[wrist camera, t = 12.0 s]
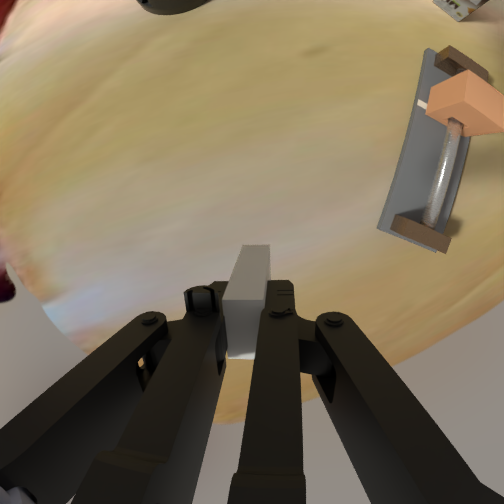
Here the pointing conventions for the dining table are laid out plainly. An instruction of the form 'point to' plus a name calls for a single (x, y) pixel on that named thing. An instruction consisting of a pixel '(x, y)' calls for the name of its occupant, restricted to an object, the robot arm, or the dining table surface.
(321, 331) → the robot arm
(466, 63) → the pipe rig
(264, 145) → the dining table surface
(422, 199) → the base board
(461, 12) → the coffee box
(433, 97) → the block
